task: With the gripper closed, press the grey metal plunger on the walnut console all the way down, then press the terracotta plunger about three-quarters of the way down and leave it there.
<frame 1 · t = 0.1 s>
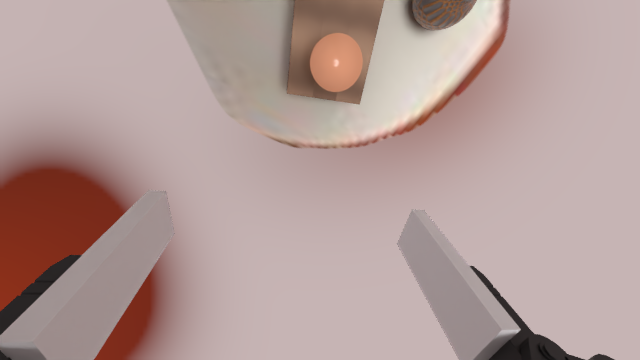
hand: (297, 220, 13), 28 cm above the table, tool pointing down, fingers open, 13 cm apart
vase: (428, 2, 32), on the table
console: (331, 14, 31), on the table
terracotta plunger: (332, 62, 27), point 8 cm above the table, slide at 0.0 cm
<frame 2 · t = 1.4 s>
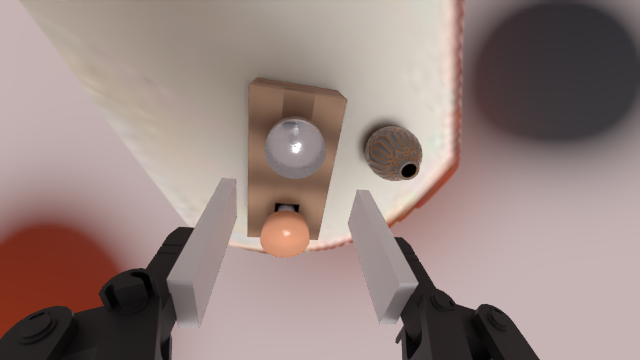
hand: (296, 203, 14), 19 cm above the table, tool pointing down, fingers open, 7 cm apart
grey plunger: (295, 140, 24), point 8 cm above the table, slide at 0.0 cm
vase: (382, 143, 34), on the table
console: (290, 157, 33), on the table
terracotta plunger: (285, 222, 29), point 8 cm above the table, slide at 0.0 cm
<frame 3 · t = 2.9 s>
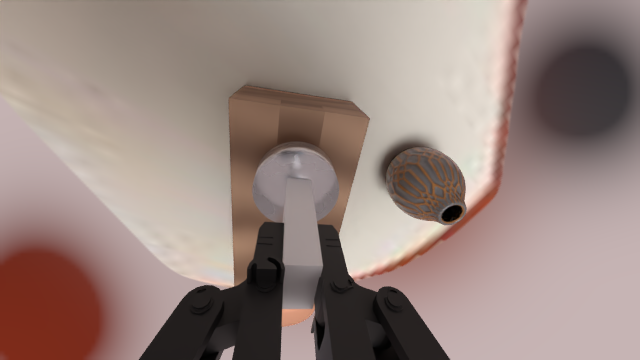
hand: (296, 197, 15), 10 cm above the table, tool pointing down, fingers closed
grey plunger: (296, 170, 18), point 7 cm above the table, slide at 1.0 cm, touching gripper
vase: (406, 166, 27), on the table
console: (290, 185, 26), on the table
terracotta plunger: (283, 275, 22), point 8 cm above the table, slide at 0.0 cm
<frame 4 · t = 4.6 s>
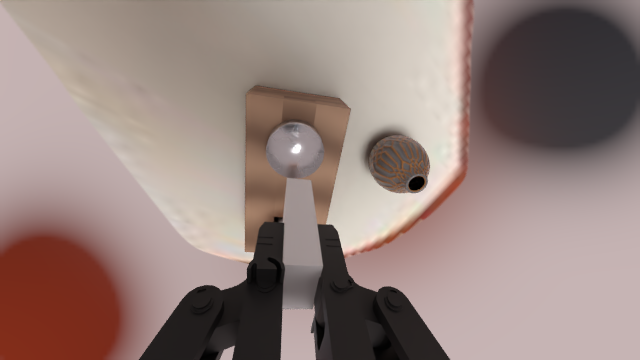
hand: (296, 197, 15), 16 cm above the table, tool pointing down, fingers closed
grey plunger: (295, 141, 25), point 5 cm above the table, slide at 3.0 cm, touching console
vase: (387, 152, 32), on the table
console: (290, 168, 32), on the table
terracotta plunger: (285, 237, 27), point 8 cm above the table, slide at 0.0 cm
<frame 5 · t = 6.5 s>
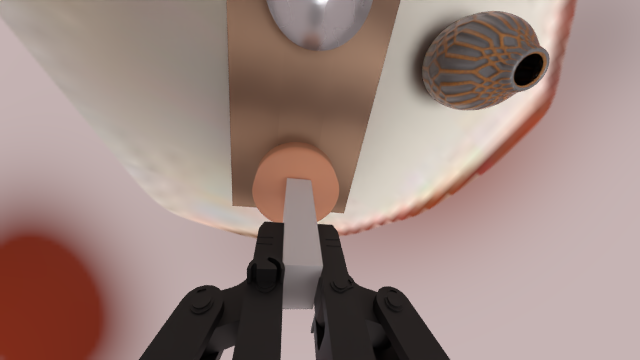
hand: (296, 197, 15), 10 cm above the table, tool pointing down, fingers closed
vase: (445, 62, 22), on the table
console: (301, 82, 21), on the table
terracotta plunger: (296, 170, 18), point 7 cm above the table, slide at 0.8 cm, touching gripper
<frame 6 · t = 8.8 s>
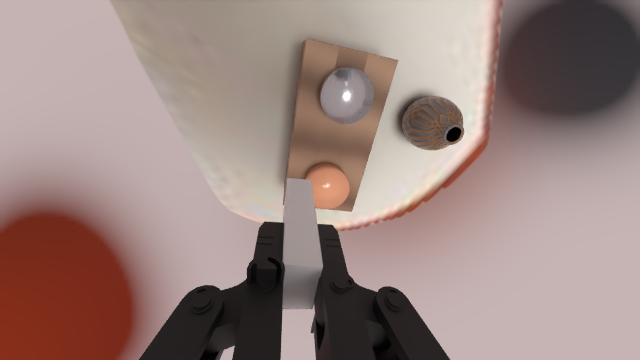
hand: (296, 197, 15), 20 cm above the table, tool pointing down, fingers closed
grey plunger: (341, 93, 27), point 5 cm above the table, slide at 3.0 cm, touching console
vase: (417, 117, 34), on the table
console: (326, 128, 33), on the table
terracotta plunger: (324, 178, 31), point 5 cm above the table, slide at 2.4 cm
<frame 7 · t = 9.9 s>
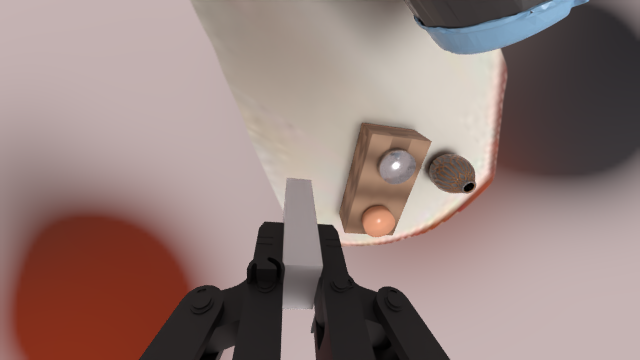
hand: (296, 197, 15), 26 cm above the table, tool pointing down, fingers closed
grey plunger: (390, 160, 39), point 5 cm above the table, slide at 3.0 cm, touching console
vase: (439, 164, 46), on the table
console: (373, 175, 46), on the table
terracotta plunger: (374, 213, 44), point 5 cm above the table, slide at 2.4 cm
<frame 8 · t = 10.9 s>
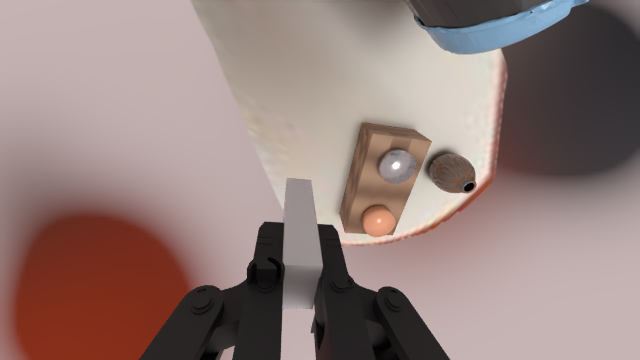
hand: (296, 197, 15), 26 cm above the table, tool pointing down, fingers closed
grey plunger: (391, 160, 39), point 5 cm above the table, slide at 3.0 cm, touching console
vase: (440, 164, 46), on the table
console: (373, 175, 46), on the table
terracotta plunger: (374, 213, 44), point 5 cm above the table, slide at 2.4 cm
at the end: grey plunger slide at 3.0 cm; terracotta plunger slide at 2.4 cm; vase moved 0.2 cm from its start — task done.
